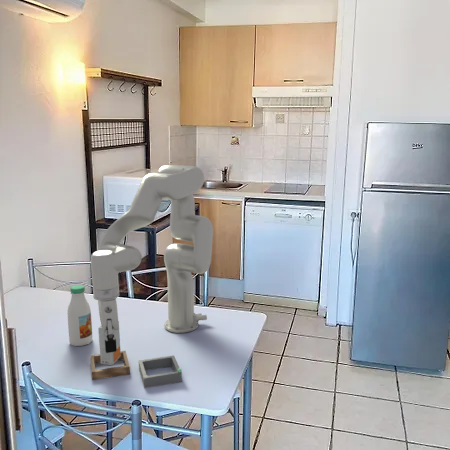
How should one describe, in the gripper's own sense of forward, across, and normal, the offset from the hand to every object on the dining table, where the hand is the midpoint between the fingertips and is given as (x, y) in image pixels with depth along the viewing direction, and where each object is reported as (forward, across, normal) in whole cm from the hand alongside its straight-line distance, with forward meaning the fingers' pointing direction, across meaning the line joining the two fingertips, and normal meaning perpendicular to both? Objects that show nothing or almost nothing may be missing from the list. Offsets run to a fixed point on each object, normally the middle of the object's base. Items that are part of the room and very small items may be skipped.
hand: (110, 345), depth 148 cm
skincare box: (+5, 0, 0) cm, 5 cm away
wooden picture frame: (+7, 0, +1) cm, 7 cm away
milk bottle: (+8, +22, +9) cm, 24 cm away
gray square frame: (+7, -10, -13) cm, 18 cm away
